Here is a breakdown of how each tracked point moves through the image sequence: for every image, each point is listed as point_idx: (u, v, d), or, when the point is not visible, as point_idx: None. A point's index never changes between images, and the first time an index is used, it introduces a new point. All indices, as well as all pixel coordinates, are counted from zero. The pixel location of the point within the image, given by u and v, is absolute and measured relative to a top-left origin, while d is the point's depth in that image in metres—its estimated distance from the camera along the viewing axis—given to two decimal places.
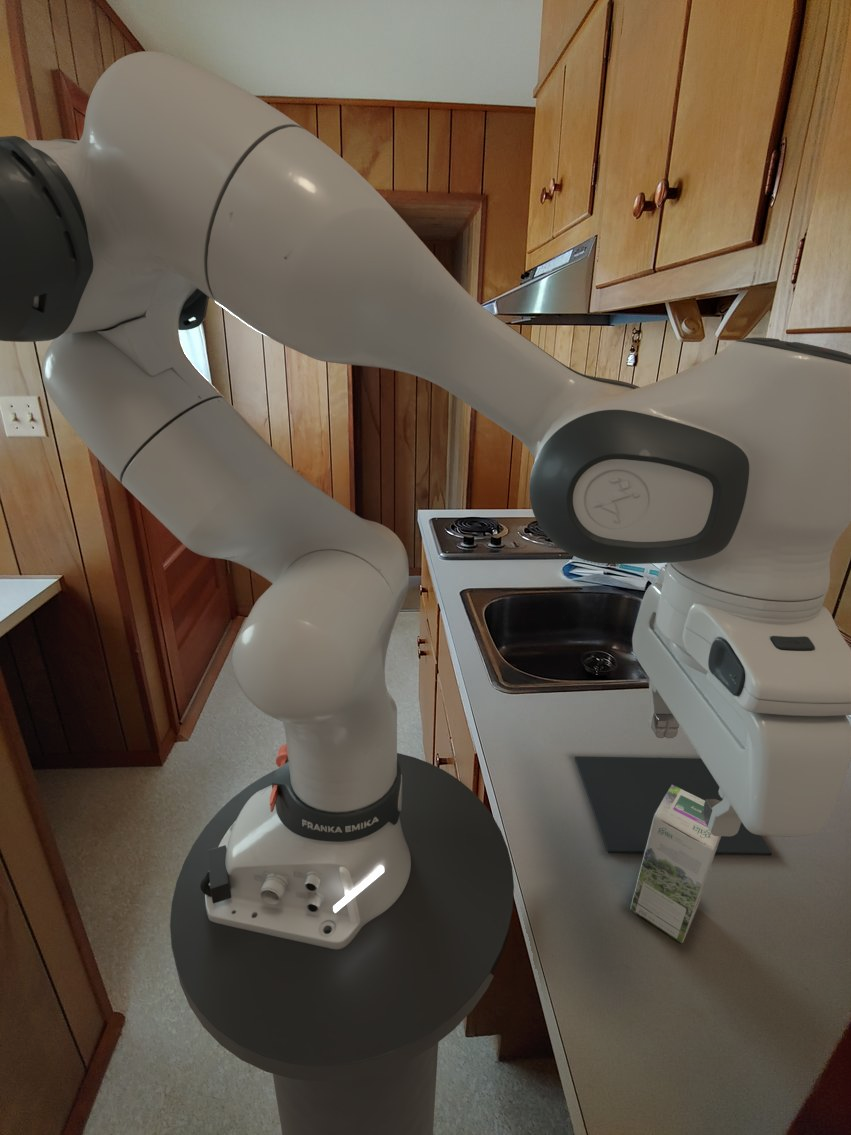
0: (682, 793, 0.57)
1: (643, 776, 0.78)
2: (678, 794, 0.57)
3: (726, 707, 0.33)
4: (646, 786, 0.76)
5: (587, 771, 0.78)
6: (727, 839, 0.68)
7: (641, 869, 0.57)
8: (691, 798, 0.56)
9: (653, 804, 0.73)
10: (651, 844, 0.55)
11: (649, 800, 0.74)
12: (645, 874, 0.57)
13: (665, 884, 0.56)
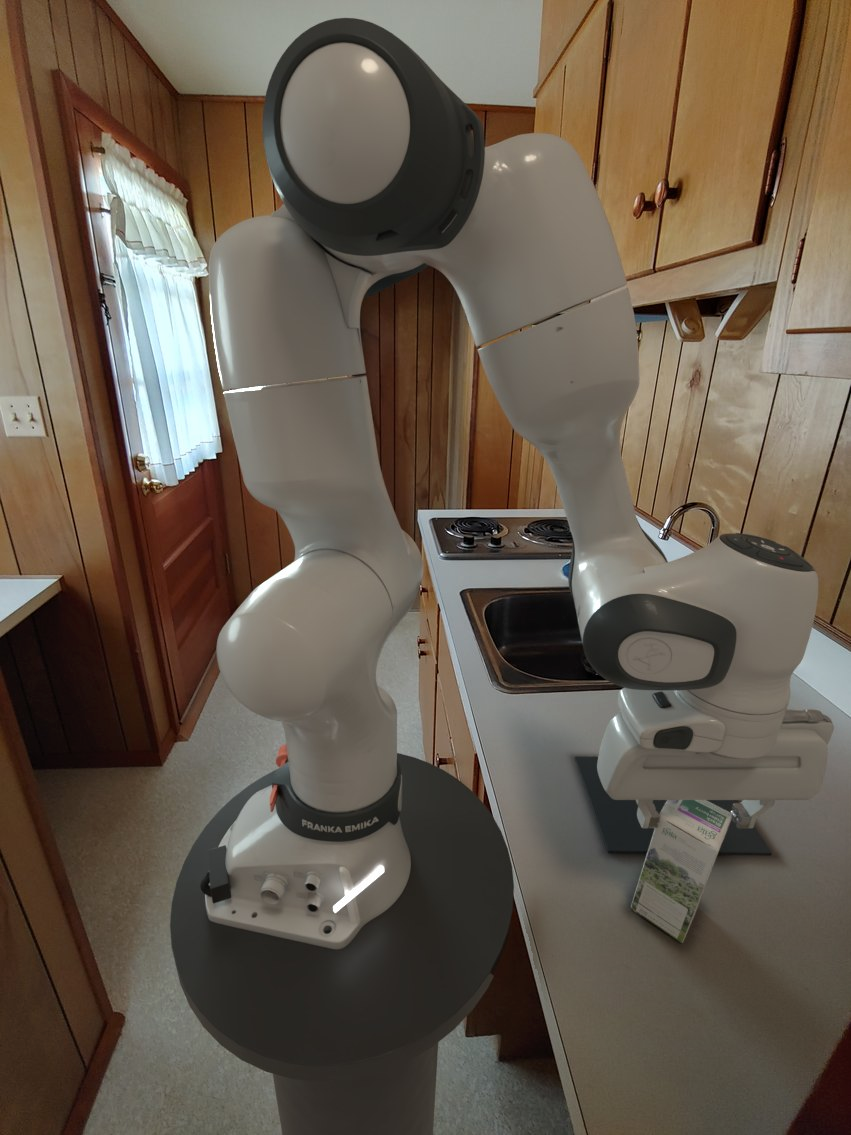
0: None
1: None
2: None
3: None
4: None
5: (587, 771, 0.78)
6: (727, 839, 0.68)
7: (643, 869, 0.57)
8: None
9: None
10: (654, 844, 0.55)
11: None
12: (647, 874, 0.57)
13: (667, 884, 0.56)
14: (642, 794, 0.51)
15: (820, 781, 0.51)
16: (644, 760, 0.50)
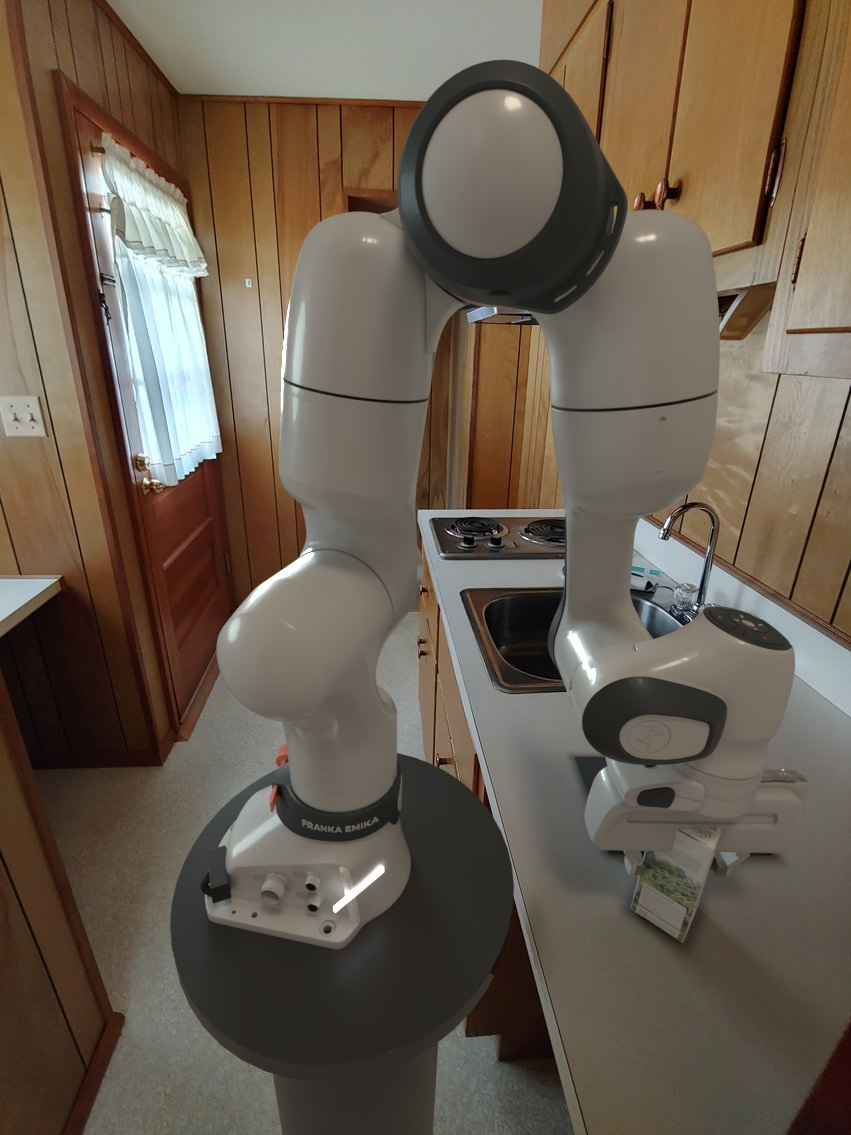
0: None
1: None
2: None
3: None
4: None
5: (587, 771, 0.78)
6: None
7: None
8: None
9: None
10: None
11: None
12: (645, 874, 0.57)
13: (666, 884, 0.56)
14: (626, 845, 0.54)
15: (795, 836, 0.53)
16: (629, 815, 0.52)
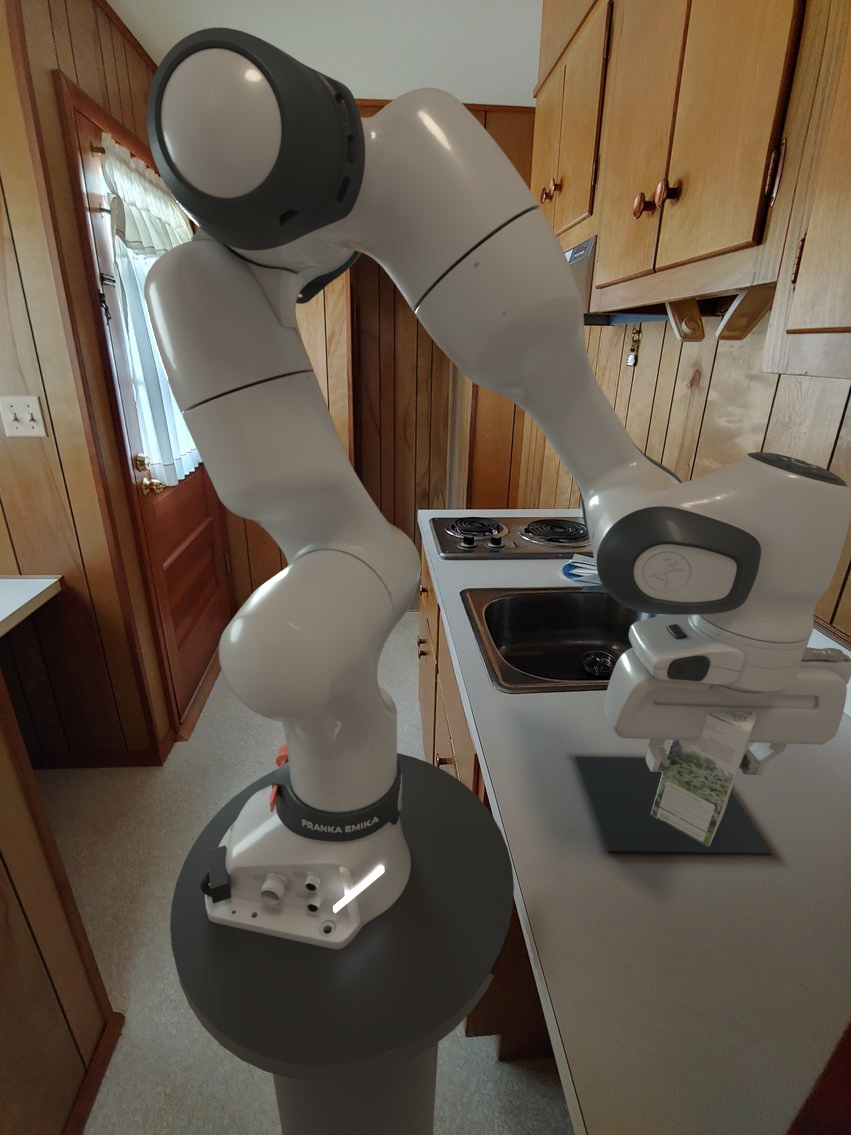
0: None
1: (643, 776, 0.78)
2: None
3: None
4: (646, 786, 0.76)
5: (587, 771, 0.78)
6: (727, 839, 0.68)
7: None
8: None
9: None
10: None
11: (649, 800, 0.74)
12: (669, 771, 0.52)
13: (692, 780, 0.51)
14: (651, 732, 0.49)
15: (837, 724, 0.49)
16: (655, 695, 0.47)
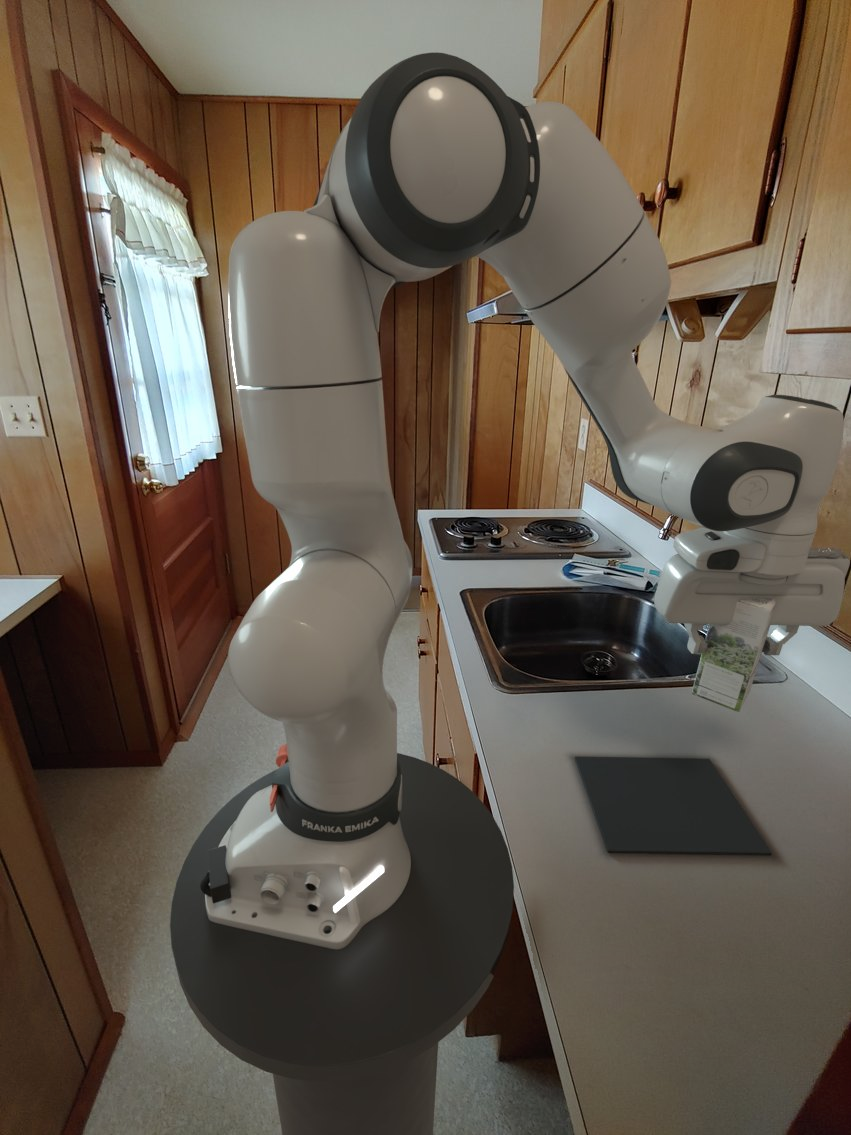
0: None
1: (643, 776, 0.78)
2: None
3: None
4: (646, 786, 0.76)
5: (587, 771, 0.78)
6: (727, 839, 0.68)
7: None
8: None
9: (653, 804, 0.73)
10: None
11: (649, 800, 0.74)
12: (707, 653, 0.66)
13: (726, 657, 0.65)
14: (693, 617, 0.63)
15: (837, 608, 0.63)
16: (697, 585, 0.62)
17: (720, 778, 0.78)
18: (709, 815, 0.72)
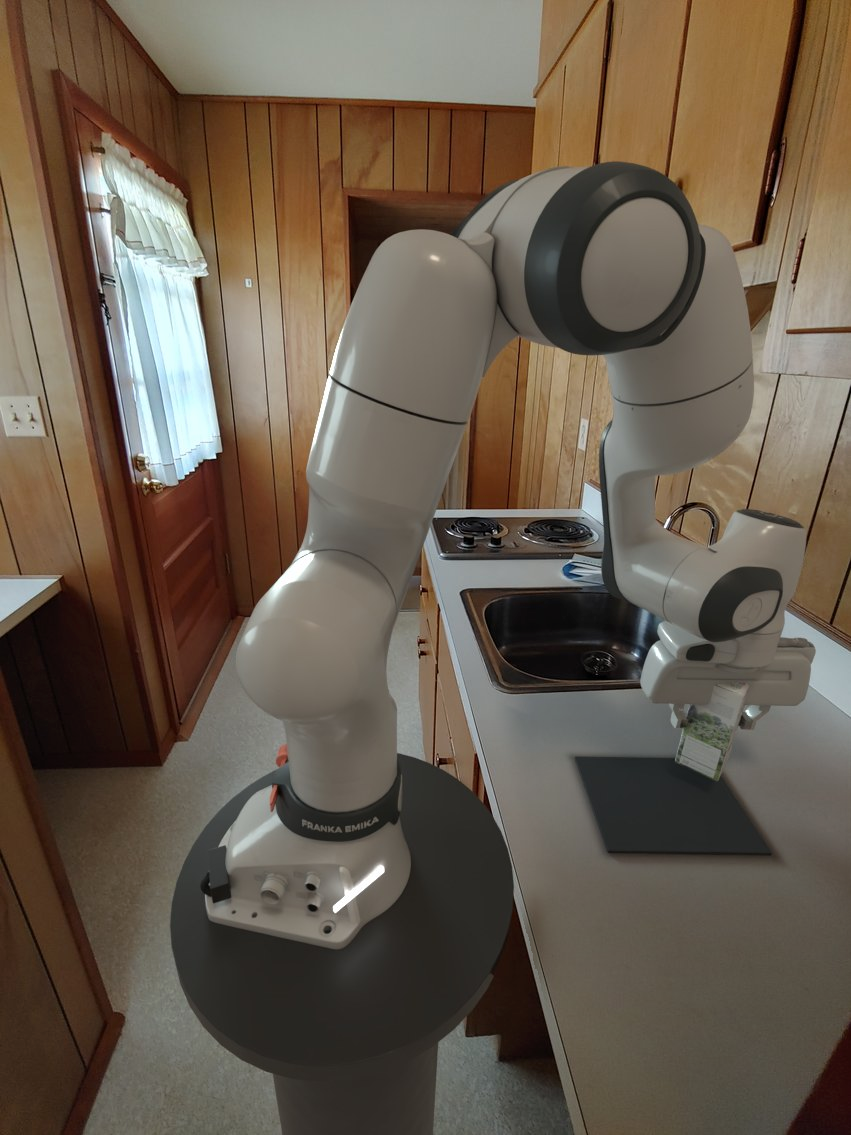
0: None
1: (643, 776, 0.78)
2: None
3: None
4: (646, 786, 0.76)
5: (587, 771, 0.78)
6: (727, 839, 0.68)
7: None
8: None
9: (653, 804, 0.73)
10: None
11: (649, 800, 0.74)
12: (688, 728, 0.73)
13: (705, 733, 0.72)
14: (675, 699, 0.70)
15: (805, 691, 0.69)
16: (678, 672, 0.68)
17: (720, 778, 0.78)
18: (709, 815, 0.72)
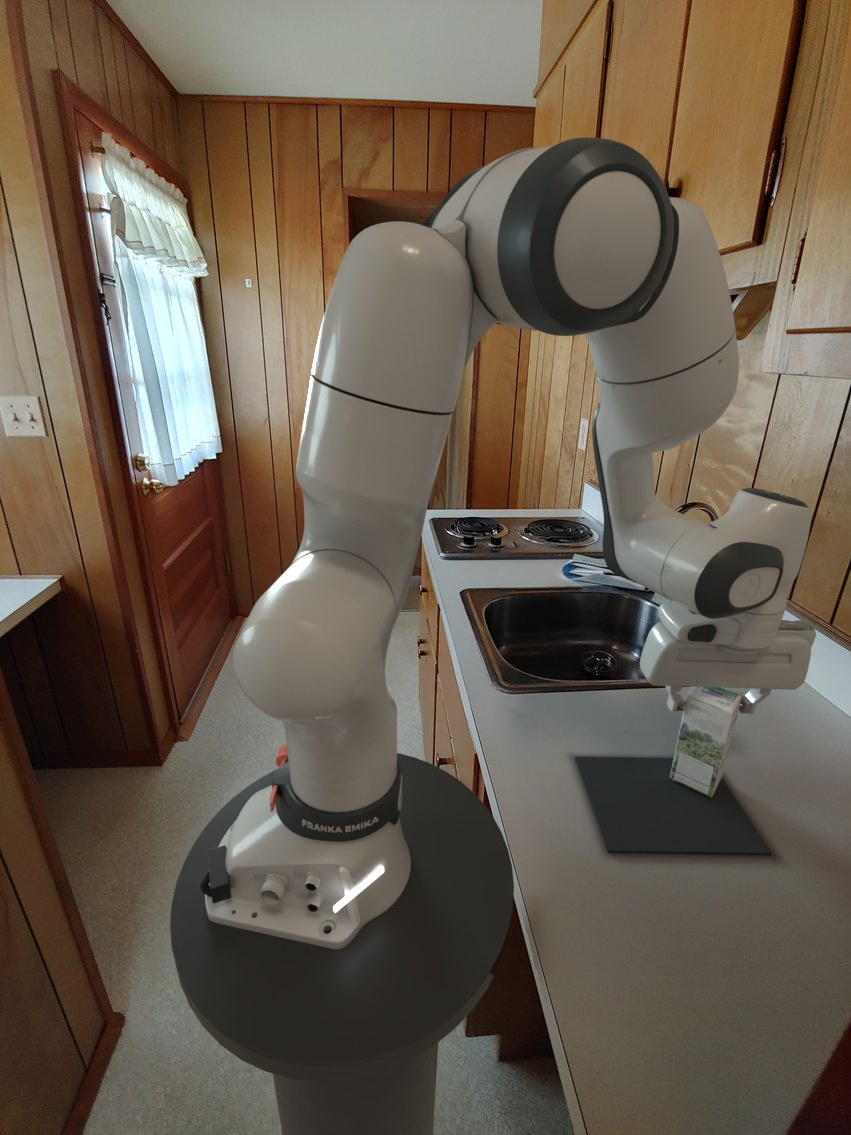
0: None
1: (643, 776, 0.78)
2: None
3: None
4: (646, 786, 0.76)
5: (587, 771, 0.78)
6: (727, 839, 0.68)
7: (678, 742, 0.75)
8: None
9: (653, 804, 0.73)
10: (685, 719, 0.73)
11: (649, 800, 0.74)
12: (681, 745, 0.75)
13: (697, 750, 0.73)
14: (674, 681, 0.69)
15: (804, 674, 0.69)
16: (678, 653, 0.68)
17: None
18: (709, 815, 0.72)
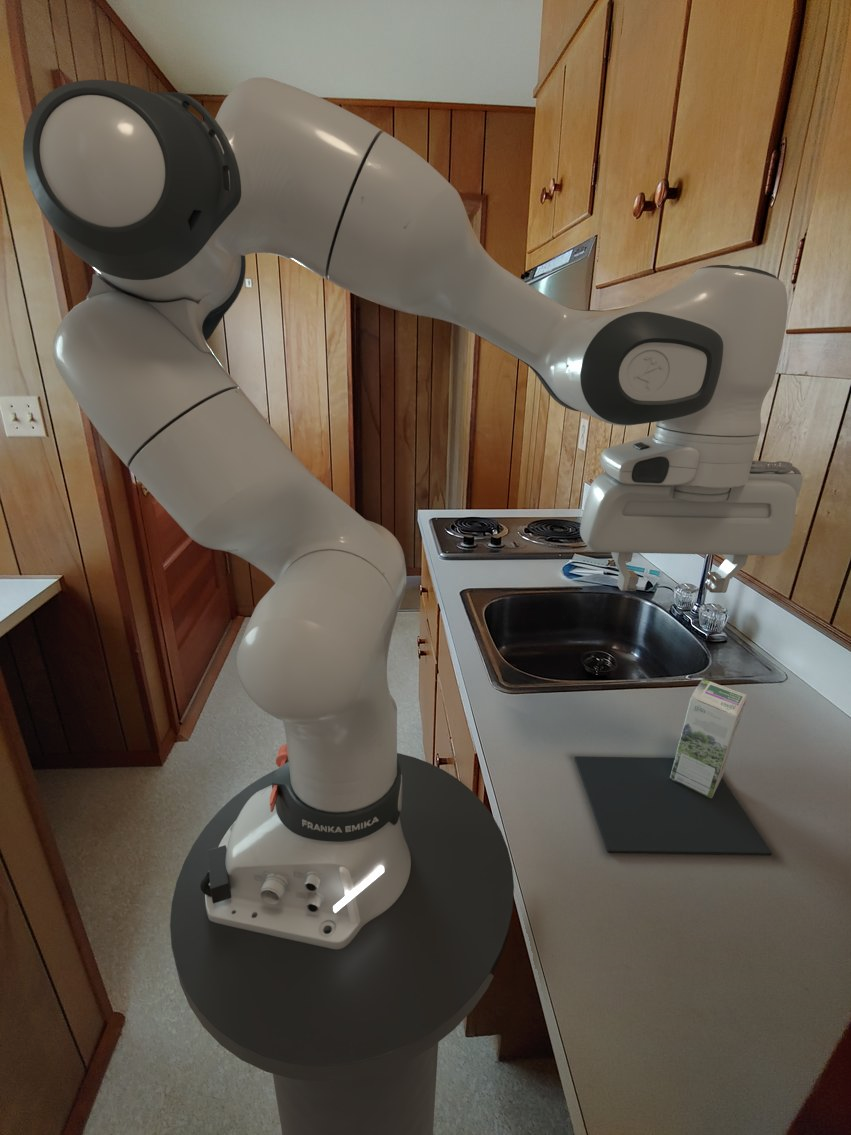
0: (711, 683, 0.74)
1: (643, 776, 0.78)
2: (708, 684, 0.74)
3: None
4: (646, 786, 0.76)
5: (587, 771, 0.78)
6: (727, 839, 0.68)
7: (679, 743, 0.75)
8: (719, 686, 0.74)
9: (653, 804, 0.73)
10: (688, 720, 0.73)
11: (649, 800, 0.74)
12: (683, 746, 0.74)
13: (699, 751, 0.73)
14: (621, 545, 0.54)
15: (789, 533, 0.54)
16: (623, 505, 0.53)
17: None
18: (709, 815, 0.72)
